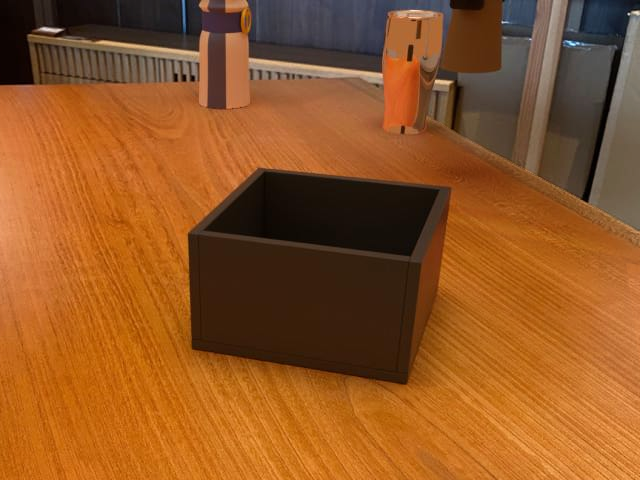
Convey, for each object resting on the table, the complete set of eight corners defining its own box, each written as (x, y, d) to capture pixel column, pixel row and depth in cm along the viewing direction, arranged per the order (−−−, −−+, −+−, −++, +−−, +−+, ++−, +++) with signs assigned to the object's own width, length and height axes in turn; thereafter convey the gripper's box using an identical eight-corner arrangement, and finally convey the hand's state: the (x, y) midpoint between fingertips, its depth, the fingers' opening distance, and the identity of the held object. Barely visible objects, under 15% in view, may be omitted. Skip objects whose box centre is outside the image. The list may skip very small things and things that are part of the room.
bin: (437, 291, 69) (452, 186, 64) (406, 384, 56) (421, 262, 52) (257, 267, 73) (258, 167, 69) (191, 348, 61) (187, 232, 56)
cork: (438, 72, 83) (451, -55, 77) (441, 61, 88) (453, -59, 82) (501, 74, 81) (519, -55, 76) (500, 62, 86) (517, -59, 81)
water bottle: (260, 98, 128) (262, -92, 115) (243, 111, 121) (244, -90, 108) (209, 94, 130) (206, -93, 117) (190, 106, 123) (184, -90, 110)
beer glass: (437, 138, 109) (453, 12, 101) (418, 151, 104) (433, 19, 96) (387, 131, 112) (398, 8, 104) (366, 143, 107) (376, 15, 99)
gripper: (515, -239, 64) (483, 19, 74) (577, -222, 76) (543, -2, 86) (424, -231, 68) (405, 14, 77) (497, -216, 80) (472, -6, 89)
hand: (478, 3), depth 82 cm, fingers closed on cork, 5 cm apart
